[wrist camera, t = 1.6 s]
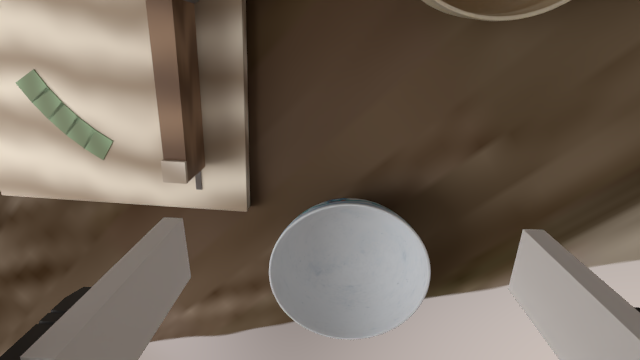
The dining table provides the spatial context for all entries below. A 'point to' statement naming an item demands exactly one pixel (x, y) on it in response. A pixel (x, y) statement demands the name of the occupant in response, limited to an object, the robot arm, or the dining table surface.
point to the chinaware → (349, 269)
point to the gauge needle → (177, 87)
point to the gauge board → (115, 104)
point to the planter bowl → (495, 8)
